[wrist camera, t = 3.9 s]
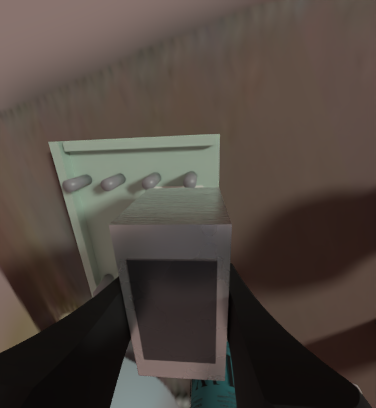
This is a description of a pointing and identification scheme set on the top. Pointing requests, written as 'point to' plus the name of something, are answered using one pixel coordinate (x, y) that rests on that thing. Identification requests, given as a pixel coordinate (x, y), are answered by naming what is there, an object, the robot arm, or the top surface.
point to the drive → (176, 280)
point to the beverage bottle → (215, 389)
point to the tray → (124, 185)
